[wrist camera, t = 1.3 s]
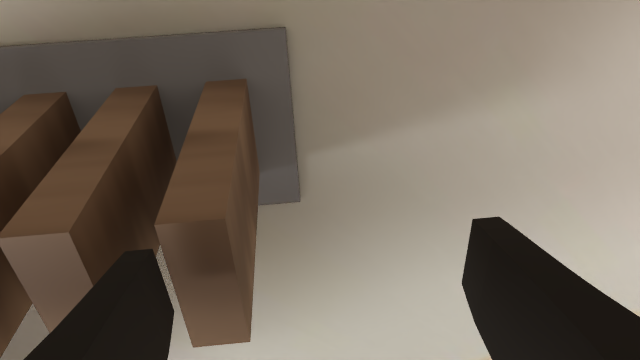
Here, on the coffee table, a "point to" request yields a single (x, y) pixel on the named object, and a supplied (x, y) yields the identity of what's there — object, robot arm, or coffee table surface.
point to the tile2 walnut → (93, 203)
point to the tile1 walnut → (214, 217)
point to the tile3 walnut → (27, 179)
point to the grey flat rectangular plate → (172, 85)
